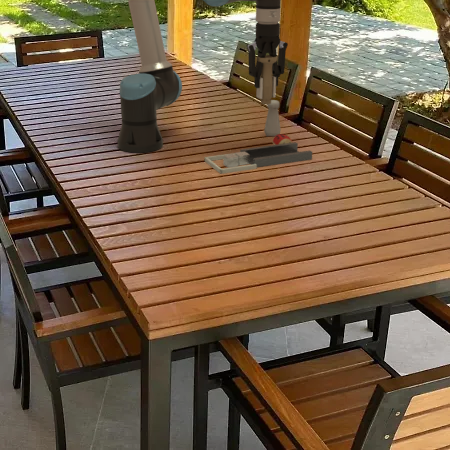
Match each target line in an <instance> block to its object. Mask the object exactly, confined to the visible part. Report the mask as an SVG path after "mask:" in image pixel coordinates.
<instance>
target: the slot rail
mask: <svg viewBox="0 0 450 450" xmlns="http://www.w3.org/2000/svg"><path fill="white" fill-rule="evenodd" d="M292 142H293V143H286V144H278V145H275V144H273V145H272V144H271V145H266V146H265V145H264V146H257V147H256V146H255V147H250V148H241V149H240V150H239V152H244V151H245V152H246V153H248V154H249V155H250V163H249V164H248V165H253V164H256V165H257V168H263V167H271V166H276V165H285V164H290V163H296V162H304V161H311V160H312V159H313V151H312V150H303V151H302V150H301V151H299V150H298V147H299V146H298V145H299V143H298V142H294V141H292Z"/></svg>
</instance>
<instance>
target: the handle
mask: <svg viewBox="0 0 450 450" xmlns="http://www.w3.org/2000/svg"><path fill="white" fill-rule="evenodd" d="M257 61H258V62H262V63H263V67H262V72H261V78H263V91H262V99H260V103H261V104H262V105H266V106H267V105H268V104H271V100H272V98H273V97H272V91H273V80H272V76H273V74H272V65H273V63H275V62H276V61H277V62H278V56H277V55H276V57H272V56H270V55H269V54H266V56H265V58H260V57H258V55H257V56H256V62H257Z"/></svg>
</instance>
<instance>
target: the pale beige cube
mask: <svg viewBox="0 0 450 450" xmlns="http://www.w3.org/2000/svg"><path fill="white" fill-rule="evenodd" d="M234 153H235V155H236V156H238V157H239V158H238V166H246V165H250V164H249V163H250V155H249V154H248V153H246V152H245V151H244V152H240V151H238V152H234Z"/></svg>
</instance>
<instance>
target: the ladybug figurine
mask: <svg viewBox="0 0 450 450" xmlns="http://www.w3.org/2000/svg"><path fill="white" fill-rule="evenodd" d="M293 142H294V141H293V140H292V139H291V137H290V136H288V135H286V134H282V133H280V134H278V135H276V136H273V139H272V141H271V143H272V144H273V145H278V144H286V143H293Z"/></svg>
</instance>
